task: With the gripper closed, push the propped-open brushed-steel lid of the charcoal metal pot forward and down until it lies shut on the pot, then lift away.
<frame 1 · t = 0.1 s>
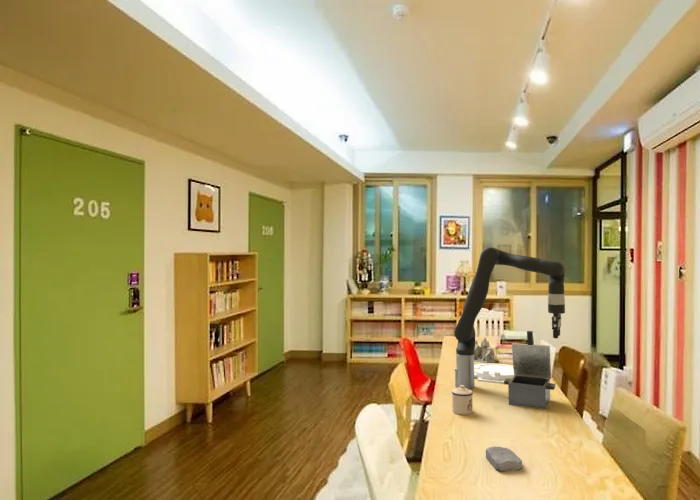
hand: (556, 336, 237), 29 cm above the table, fingers open, 8 cm apart
teacup with lid: (462, 411, 219), on the table
pot lid: (531, 355, 237), point 21 cm above the table, hinge at 75.0°
stone figurine sculpture: (482, 361, 322), on the table
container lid: (496, 376, 283), on the table
charcoal pot: (529, 402, 231), on the table
stone block: (505, 465, 163), on the table
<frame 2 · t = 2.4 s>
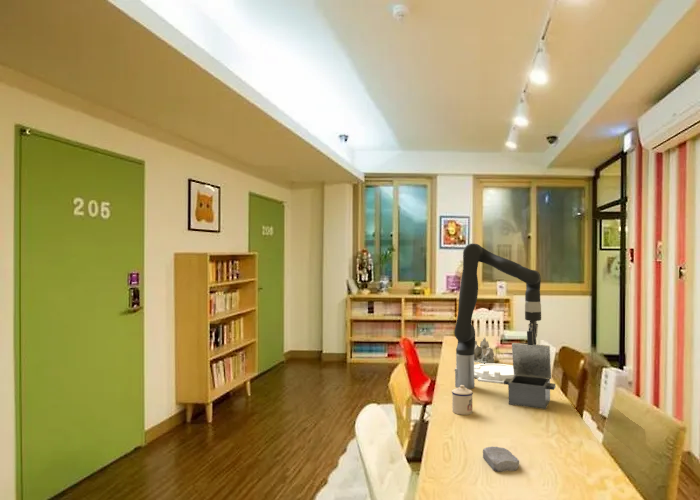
hand: (533, 345, 243), 24 cm above the table, fingers closed
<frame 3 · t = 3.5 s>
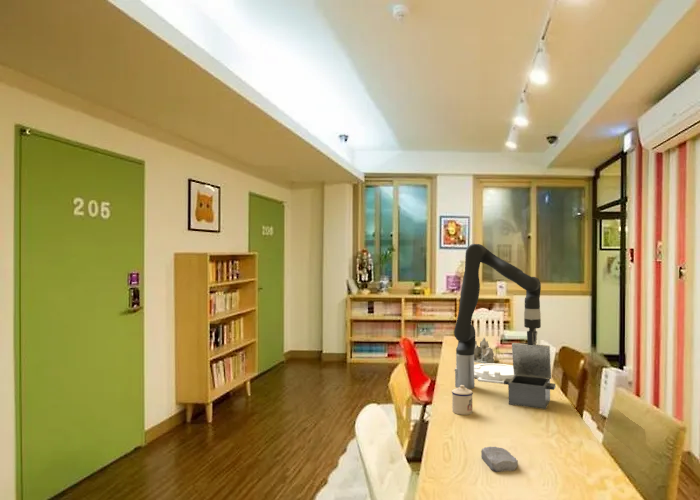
hand: (532, 353, 241), 21 cm above the table, fingers closed
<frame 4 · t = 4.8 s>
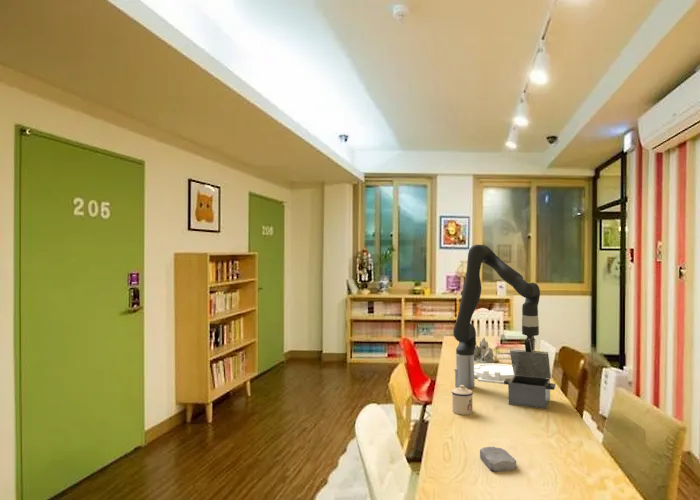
hand: (530, 361, 235), 18 cm above the table, fingers closed
pot lid: (530, 358, 234), point 20 cm above the table, hinge at 54.7°, touching gripper, hand
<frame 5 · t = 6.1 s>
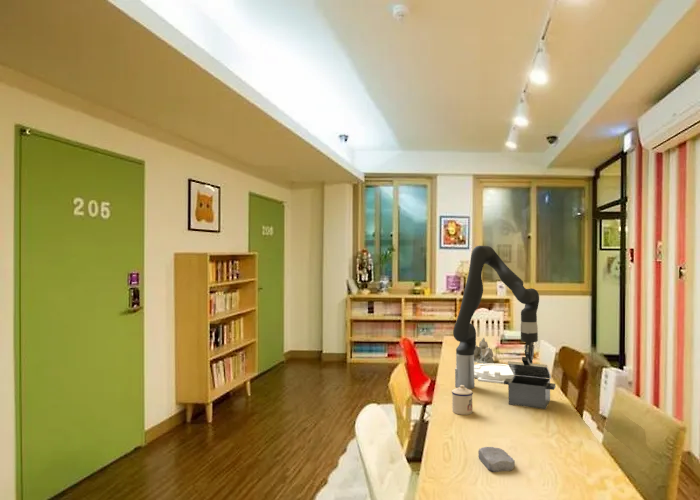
hand: (529, 367, 232), 16 cm above the table, fingers closed
pot lid: (529, 366, 230), point 17 cm above the table, hinge at 30.0°, touching gripper
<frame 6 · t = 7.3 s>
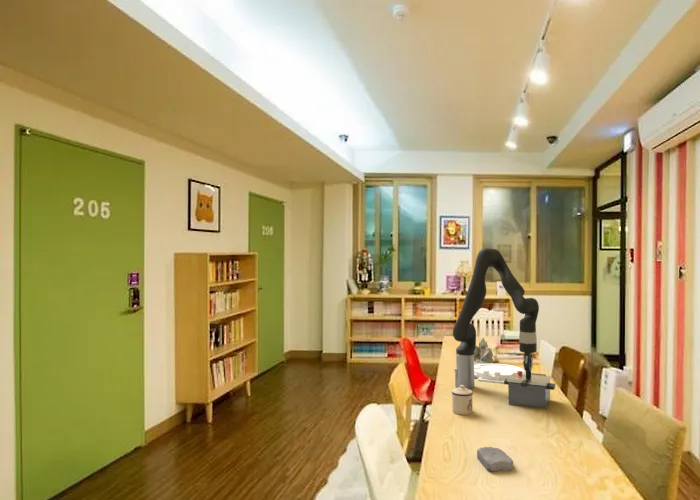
hand: (528, 378, 228), 12 cm above the table, fingers closed
pot lid: (528, 378, 228), point 12 cm above the table, hinge at 1.3°, touching gripper
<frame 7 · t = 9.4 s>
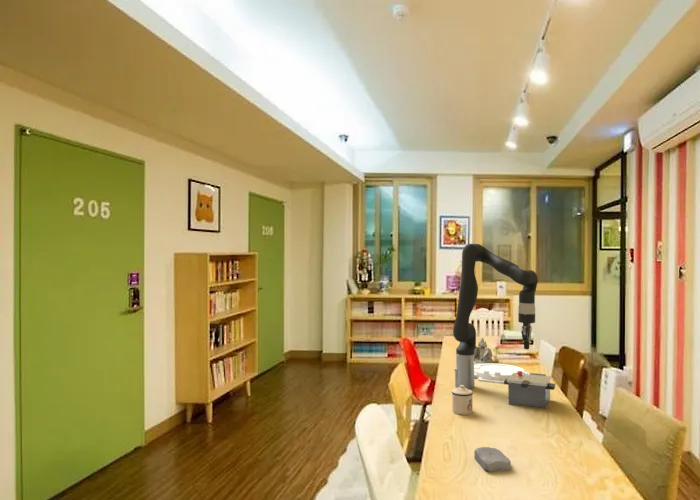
hand: (526, 349, 233), 24 cm above the table, fingers closed
pot lid: (528, 378, 228), point 12 cm above the table, hinge at 0.5°
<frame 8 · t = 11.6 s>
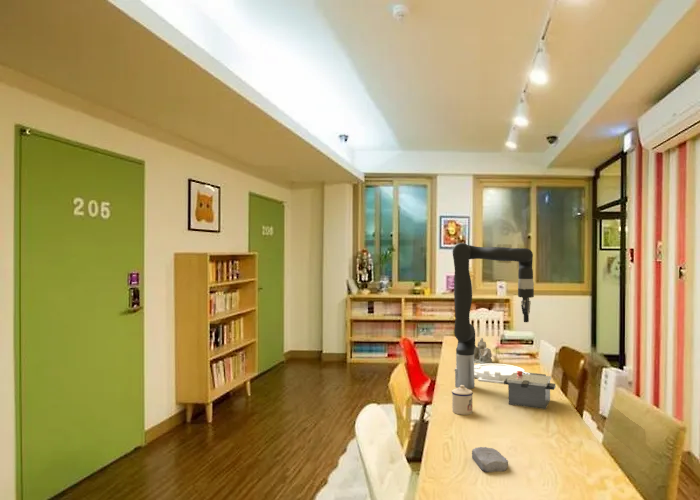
hand: (526, 322, 249), 35 cm above the table, fingers closed
at the end: pot lid at +0° (first picture: +75°); teacup with lid moved 0.2 cm from its start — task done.
